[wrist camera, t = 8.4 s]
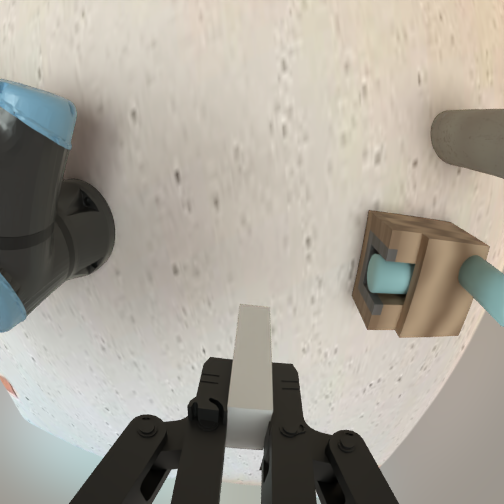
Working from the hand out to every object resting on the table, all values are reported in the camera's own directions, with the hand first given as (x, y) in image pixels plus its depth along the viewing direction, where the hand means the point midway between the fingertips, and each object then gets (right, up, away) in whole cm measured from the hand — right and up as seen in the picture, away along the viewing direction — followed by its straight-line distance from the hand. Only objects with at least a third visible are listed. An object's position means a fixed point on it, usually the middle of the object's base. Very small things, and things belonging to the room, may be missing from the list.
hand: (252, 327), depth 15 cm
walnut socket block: (+22, +3, +26) cm, 34 cm away
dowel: (+27, +1, +15) cm, 31 cm away
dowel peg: (+21, +2, +22) cm, 31 cm away
